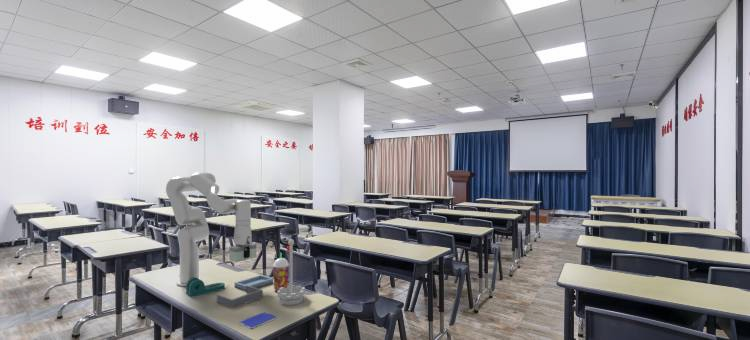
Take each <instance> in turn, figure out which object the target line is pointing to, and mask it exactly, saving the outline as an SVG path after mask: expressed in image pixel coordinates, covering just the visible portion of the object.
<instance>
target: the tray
mask: <svg viewBox="0 0 750 340" xmlns="http://www.w3.org/2000/svg"><path fill="white" fill-rule="evenodd" d="M271 284H274V277H269V276H267V275H262V274H260V275H256V276H253V277H249V278H245V279H243V280H240V281H235V282H234V288H236V289H239V290H241V291H244V292H246V286H247V285H249V286H252V287H255V288H258V289H260V288H262V287H265V286H267V285H271Z"/></svg>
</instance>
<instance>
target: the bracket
mask: <svg viewBox="0 0 750 340" xmlns="http://www.w3.org/2000/svg"><path fill="white" fill-rule="evenodd" d="M225 288H226V287H225V282H215V283H211V284H206V285H205V283H204V281H203V280H202V281H201V280H200V279H198V278H196V277H193V278H190V279H189V280H188V281H187V283H186V286H185V294H186V295H187V296H188V297H189V298H193V297H196V296H202V295H207V294H209V293H214V292H218V291H222V290H224V289H225Z"/></svg>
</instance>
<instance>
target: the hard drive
mask: <svg viewBox="0 0 750 340" xmlns="http://www.w3.org/2000/svg"><path fill="white" fill-rule="evenodd" d="M276 319H277V316H276V315H274V314H271V313H268V312H266V311H263V312H261V313H259V314H256V315H253V316H251V317H248V318H246V319H243V320H241V321H239V323H238V324H239V325H241V326H242V327H245V326H246V328H248V329H250V328H253V329H255V328H257V327H260V326H262V325H265V324H266V323H269V322H271V321H273V320H276ZM261 324H262V325H261ZM259 325H260V326H259ZM256 326H257V327H256ZM254 327H255V328H254Z"/></svg>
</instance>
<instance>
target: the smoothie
mask: <svg viewBox="0 0 750 340" xmlns="http://www.w3.org/2000/svg"><path fill="white" fill-rule="evenodd" d="M279 255H280V257H279V258H277V259H275V261H274V262H273V264H272V272H273V288H274V290H275V292H276V293H277V290H279V288H281V287H284V289H285V288H287V286H289V275H290V262H289V261H288V260H287V259H286V258H285V257H282V255H283V254H282V252H280V254H279Z"/></svg>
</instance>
